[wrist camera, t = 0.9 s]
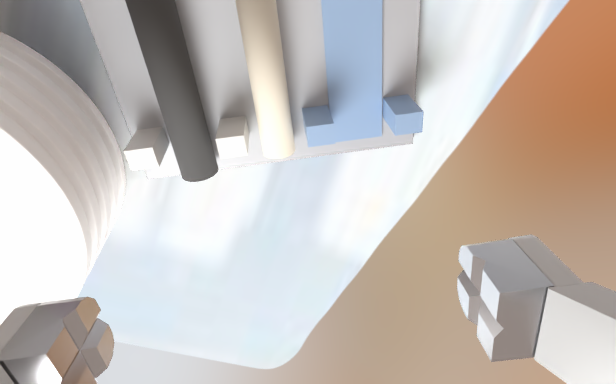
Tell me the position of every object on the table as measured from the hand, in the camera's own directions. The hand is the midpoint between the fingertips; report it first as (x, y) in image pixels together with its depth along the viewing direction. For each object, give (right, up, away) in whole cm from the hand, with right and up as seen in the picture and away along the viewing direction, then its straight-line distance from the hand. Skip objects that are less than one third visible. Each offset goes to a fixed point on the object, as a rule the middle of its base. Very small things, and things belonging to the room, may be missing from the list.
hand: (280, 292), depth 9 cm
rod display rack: (-3, +13, +29) cm, 32 cm away
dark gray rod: (-11, +12, +28) cm, 32 cm away
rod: (-3, +13, +28) cm, 31 cm away
